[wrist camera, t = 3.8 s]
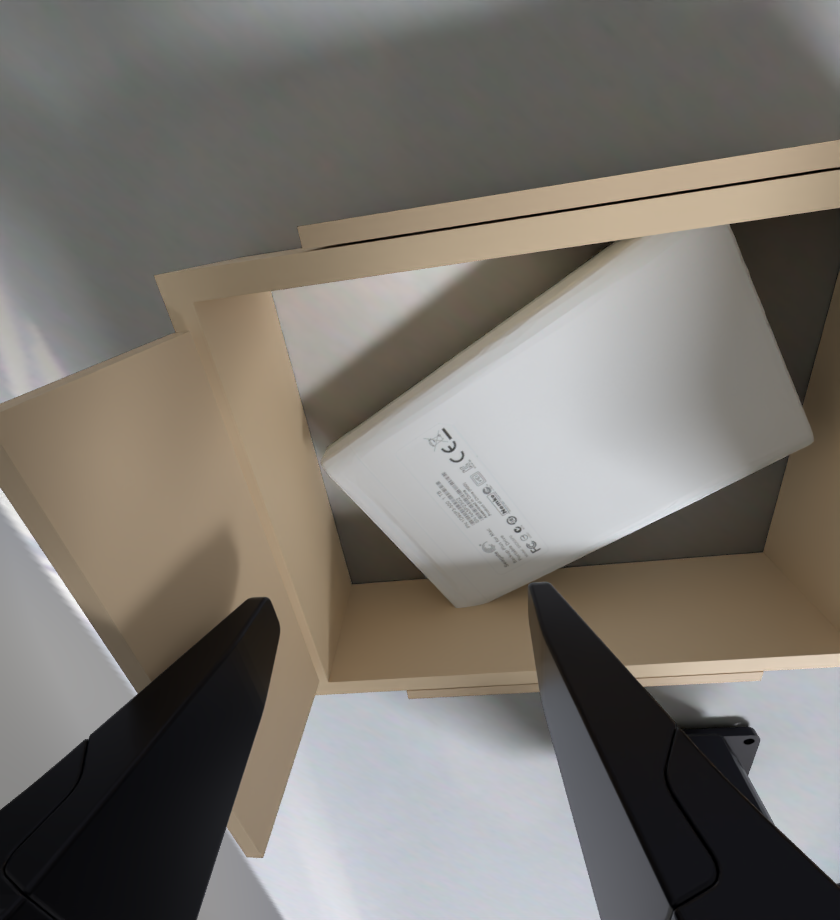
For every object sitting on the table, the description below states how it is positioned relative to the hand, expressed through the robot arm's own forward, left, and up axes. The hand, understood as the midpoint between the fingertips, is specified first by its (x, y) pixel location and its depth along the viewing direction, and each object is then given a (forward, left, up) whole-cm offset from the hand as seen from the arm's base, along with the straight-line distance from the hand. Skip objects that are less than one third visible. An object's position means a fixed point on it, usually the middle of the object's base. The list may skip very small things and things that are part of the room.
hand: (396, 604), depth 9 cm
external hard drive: (0, -5, -7) cm, 9 cm away
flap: (0, +4, 0) cm, 4 cm away
